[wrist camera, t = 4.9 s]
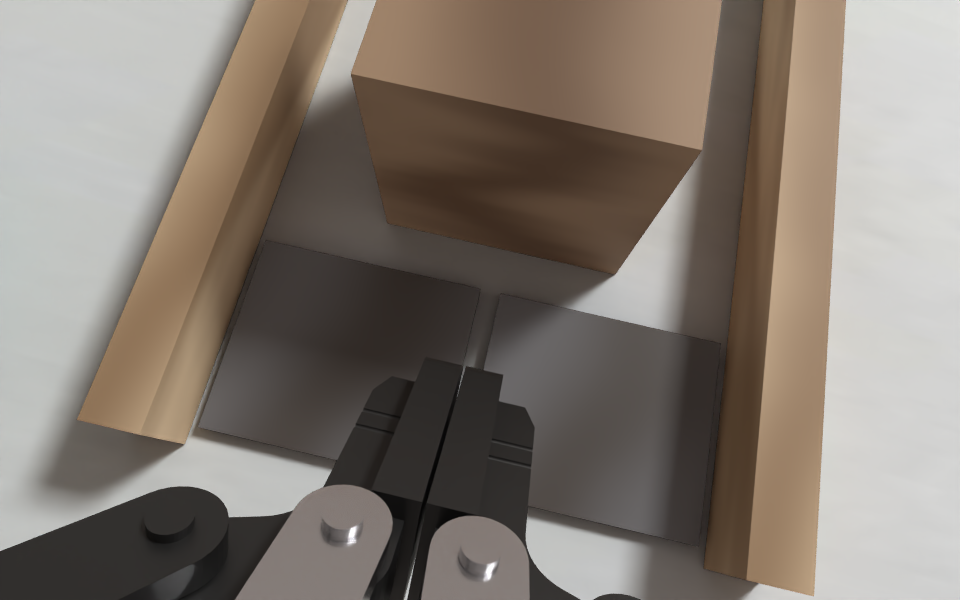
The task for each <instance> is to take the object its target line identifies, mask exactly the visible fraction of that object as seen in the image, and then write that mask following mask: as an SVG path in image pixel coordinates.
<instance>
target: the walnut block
mask: <svg viewBox="0 0 960 600" xmlns="http://www.w3.org/2000/svg"><path fill="white" fill-rule="evenodd" d="M721 4H722V0H377V1H376V3H375V6H374V9H373V12H372V15H371V18H370V20H369V23H368V26H367V29H366V32H365V35H364V38H363V40H362V43H361V46H360V49H359V52H358V55H357V57H356V60H355V63H354V66H353V69H352V72H351V77H352V81H353V85H354V89H355V93H356V97H357V101H358V105H359V109H360V113H361V117H362V122H363V126H364V130H365V134H366V138H367V142H368V146H369V150H370V154H371V158H372V162H373V166H374V170H375V174H376V179H377V183H378V187H379V191H380V195H381V199H382V203H383V207H384V211H385V215H386V219H387V223H389V224H393V225H398V226H402V227H406V228H411V229H415V230H420V231H424V232H429V233H433V234H437V235H442V236H446V237H451V238H455V239H459V240H464V241H468V242H473V243H477V244H482V245H486V246H490V247H495V248H499V249H504V250H508V251H513V252H517V253H521V254H526V255H530V256H535V257H539V258H544V259H548V260H552V261H557V262H561V263H566V264H570V265H574V266H579V267H583V268H588V269H592V270H597V271H601V272H605V273H610V274H614V275H615V274H616V273H617V271H618V270H619V268H620V267H621V266H622V264H623V263H624V261H625V260H626V258H627V257H628V255H629V254H630V253H631V251H632V250H633V248H634V247H635V245H636V244H637V243H638V241H639V240H640V238H641V237H642V235H643V234H644V233H645V231H646V230H647V228H648V227H649V225H650V224H651V223H652V221H653V220H654V218H655V217H656V215H657V214H658V213H659V211H660V210H661V208H662V207H663V205H664V204H665V203H666V201H667V200H668V198H669V197H670V195H671V194H672V193H673V191H674V190H675V188H676V187H677V185H678V184H679V182H680V181H681V180H682V178H683V177H684V175H685V174H686V172H687V171H688V170H689V168H690V167H691V165H692V164H693V162H694V161H695V160H696V158H697V157H698V155H699V154H700V152H701V151H702V147H703V140H704V132H705V125H706V117H707V110H708V102H709V95H710V87H711V79H712V72H713V64H714V57H715V49H716V42H717V34H718V27H719V19H720V12H721Z"/></svg>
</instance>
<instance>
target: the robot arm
mask: <svg viewBox="0 0 960 600" xmlns="http://www.w3.org/2000/svg"><path fill="white" fill-rule="evenodd" d="M462 370H463V365H459V364H455V363H451V362H446V361H442V360H438V359H434V358H429V357H425V359H424V361H423V364H422V366H421V369H420V371H419V374H418V376H417V378H416V381H410V380H406V379H402V378H398V377H394V376H391V377H390V378H388V379H387V380H386V381H384V382H383V383H381V384H380V385H378V386H377V387H376V388H374V389H373V390H372V392H371V394H370V396H369V398H368V400H367V402H366V404H365V406H364V408H363V412H361V414H360V416H359V418H358V420H357V422H356V425H355V427H354V428H353V430H352V432H351V434H350V436H349V438H348V440H347V442H346V444H345V446H344V448H343V450H342V451H341V453H340V455H339V457H338V459H337V461H336V463H335V465H334V467H333V469H332V471H331V473H330V475H329V477H328V479H327V481H326V483H325V485H324V487H323V488H320V489H318V490H316V491H314V492H312V493H310V494H309V495H307V496H306V497H305V498H303V499H302V500H301V501H300V502H299V503H298V505H297V506H296V507H295V509H294V510H293V511H290V512H287V513H284V514H279V515H274V516H261V517H229V516H228V512H227V509H226V507H225V505H224V503H223V502H222V501H221V500H220V499H219V498H218V497H217V496H215V495H214V494H212V493H210V492H208V491H206V490H203V489H200V488H195V487H170V488H165V489H160V490H157V491H154V492H151V493H148V494H146V495H143V496H141V497H138V498H135V499H133V500H130V501H128V502H125V503H123V504H120V505H118V506H115V507H112V508H110V509H107V510H105V511H102V512H100V513H97V514H95V515H92V516H89V517H87V518H84V519H82V520H79V521H77V522H74V523H71V524H69V525H66V526H64V527H61V528H59V529H56V530H54V531H51V532H48V533H46V534H43V535H41V536H38V537H36V538H33V539H31V540H28V541H25V542H23V543H20V544H18V545H15V546H13V547H10V548H7V549H5V550H2V551H0V600H404V597H405V594H406V590H407V587H408V583H409V579H410V576H411V572H412V569H413V565H414V569H413V574H412V579H411V584H410V589H409V594H408V599H407V600H580V599H578V598H577V597H575V596H573V595H571V594H569V593H568V592H566V591H564V590H562V589H561V588H559V587H558V586H556V585H555V584H553V583H552V582H551V581H550V580H548V579H547V578H546V577H545V576H544V575H543V574H542V573H541V572H540V571H539V569H538V568H537V567H536V565H535V564H534V562H533V561H532V559H531V557H530V555H529V552H528V549H527V545H526V536H525V533H526V522H527V510H528V499H529V488H530V477H531V465H532V454H533V452H532V450H533V443H534V431H535V427H534V425H533V423H532V421H531V418H530V416H529V414H528V412H527V410H526V408H525V407H521V406H517V405H513V404H509V403H504V402H500V401H499V397H500V391H501V386H502V381H503V374H498V373H494V372H490V371H486V370H481V369H477V368H473V367H468V366H466V368H465V372H464V375H463V379H462V382H461V386H460V389H459V385H460V380H461V375H462ZM458 390H459V393H458ZM457 394H458V396H457ZM456 399H457V400H456ZM415 558H416V559H415ZM414 562H415V564H414ZM594 600H640V599H638V598H635V597H632V596H628V595H623V594H606V595H602V596H599V597H597V598H595V599H594Z"/></svg>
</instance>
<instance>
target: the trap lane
mask: <svg viewBox="0 0 960 600" xmlns="http://www.w3.org/2000/svg"><path fill="white" fill-rule="evenodd" d="M347 1H348V0H255V2H254V5H253V7H252V9H251V12H250V14H249V17H248V19H247V21H246V24H245V26H244V28H243V31H242V33H241V35H240V38H239V40H238V42H237V45H236V47H235V49H234V52H233V54H232V56H231V59H230V61H229V64H228V66H227V68H226V71H225V73H224V75H223V78H222V80H221V82H220V85H219V87H218V89H217V92H216V94H215V96H214V99H213V101H212V103H211V106H210V108H209V110H208V113H207V115H206V118H205V120H204V122H203V125H202V127H201V129H200V132H199V134H198V136H197V139H196V141H195V143H194V146H193V148H192V150H191V153H190V155H189V157H188V160H187V162H186V164H185V167H184V169H183V172H182V174H181V176H180V179H179V181H178V183H177V186H176V188H175V190H174V193H173V195H172V197H171V200H170V202H169V204H168V207H167V209H166V211H165V214H164V216H163V219H162V221H161V223H160V226H159V228H158V230H157V233H156V235H155V237H154V240H153V242H152V244H151V247H150V249H149V251H148V254H147V256H146V258H145V261H144V263H143V265H142V268H141V270H140V273H139V275H138V277H137V280H136V282H135V284H134V287H133V289H132V291H131V294H130V296H129V298H128V301H127V303H126V305H125V308H124V310H123V312H122V315H121V317H120V319H119V322H118V324H117V327H116V329H115V331H114V334H113V336H112V338H111V341H110V343H109V345H108V348H107V350H106V352H105V355H104V357H103V359H102V362H101V364H100V366H99V369H98V371H97V374H96V376H95V378H94V381H93V383H92V385H91V388H90V390H89V392H88V395H87V397H86V399H85V402H84V404H83V406H82V409H81V411H80V413H79V416H78V418H77V420H80V421H84V422H88V423H93V424H97V425H101V426H105V427H109V428H113V429H118V430H122V431H126V432H130V433H134V434H138V435H143V436H148V437H153V438H157V439H162V440H167V441H172V442H176V443H181V444H185V442H186V439H187V437H188V434H189V431H190V428H191V426H192V423H193V420H194V418H195V415H196V412H197V409H198V407H199V404H200V401H201V398H202V396H203V393H204V390H205V388H206V385H207V382H208V379H209V377H210V374H211V371H212V369H213V366H214V363H215V360H216V358H217V355H218V352H219V350H220V347H221V344H222V341H223V339H224V336H225V333H226V330H227V328H228V325H229V322H230V320H231V317H232V314H233V311H234V309H235V306H236V303H237V301H238V298H239V295H240V292H241V290H242V287H243V284H244V281H245V279H246V276H247V273H248V271H249V268H250V265H251V262H252V260H253V257H254V254H255V252H256V249H257V246H258V243H259V241H260V238H261V235H262V233H263V230H264V227H265V224H266V222H267V219H268V216H269V213H270V211H271V208H272V205H273V203H274V200H275V197H276V194H277V192H278V189H279V186H280V184H281V181H282V178H283V175H284V173H285V170H286V167H287V165H288V162H289V159H290V156H291V154H292V151H293V148H294V145H295V143H296V140H297V137H298V135H299V132H300V129H301V126H302V124H303V121H304V118H305V116H306V113H307V110H308V107H309V105H310V102H311V99H312V96H313V94H314V91H315V88H316V86H317V83H318V80H319V77H320V75H321V72H322V69H323V67H324V64H325V61H326V58H327V56H328V53H329V50H330V48H331V45H332V42H333V39H334V37H335V34H336V31H337V28H338V26H339V23H340V20H341V18H342V15H343V12H344V9H345V7H346V4H347ZM845 7H846V0H764V1H763V11H762V20H761V30H760V39H759V49H758V58H757V68H756V77H755V87H754V96H753V106H752V115H751V124H750V134H749V143H748V153H747V162H746V172H745V181H744V191H743V200H742V210H741V219H740V229H739V238H738V248H737V257H736V267H735V276H734V286H733V295H732V305H731V314H730V323H729V333H728V342H727V352H726V361H725V371H724V380H723V390H722V399H721V409H720V418H719V428H718V437H717V447H716V456H715V466H714V475H713V485H712V494H711V504H710V513H709V523H708V532H707V541H706V551H705V560H704V569H707V570H711V571H714V572H718V573H722V574H726V575H729V576H733V577H737V578H740V579H744V580H748V581H752V582H756V583H760V584H765V585H769V586H773V587H777V588H781V589H785V590H790V591H794V592H798V593H802V594H806V595H810V596H814V585H815V567H816V548H817V529H818V511H819V492H820V473H821V455H822V436H823V418H824V399H825V380H826V362H827V343H828V324H829V306H830V287H831V268H832V250H833V231H834V213H835V194H836V175H837V157H838V138H839V119H840V101H841V82H842V63H843V45H844V26H845ZM479 294H480V289H479V288H474V287H470V286H466V285H461V284H457V283H452V282H448V281H444V280H439V279H435V278H430V277H426V276H422V275H417V274H413V273H408V272H404V271H400V270H395V269H391V268H386V267H382V266H378V265H373V264H369V263H364V262H360V261H356V260H351V259H347V258H342V257H338V256H334V255H329V254H325V253H320V252H316V251H312V250H307V249H303V248H298V247H294V246H290V245H285V244H281V243H276V242H272V241H268V240H266V241H265V244H264V247H263V249H262V252H261V255H260V258H259V260H258V263H257V266H256V269H255V271H254V274H253V277H252V280H251V282H250V285H249V288H248V291H247V293H246V296H245V299H244V302H243V304H242V307H241V310H240V313H239V315H238V318H237V321H236V324H235V326H234V329H233V332H232V335H231V337H230V340H229V343H228V346H227V348H226V351H225V354H224V357H223V359H222V362H221V365H220V368H219V370H218V373H217V376H216V378H215V381H214V384H213V387H212V389H211V392H210V395H209V398H208V400H207V403H206V406H205V409H204V411H203V414H202V417H201V420H200V422H199V425H198V427H200V428H203V429H207V430H212V431H216V432H220V433H224V434H228V435H233V436H237V437H241V438H245V439H249V440H254V441H258V442H262V443H266V444H270V445H275V446H279V447H283V448H287V449H291V450H296V451H300V452H304V453H308V454H312V455H316V456H321V457H325V458H329V459H333V460H337V459H338V457H339V455H340V453H341V451H342V450H343V448H344V446H345V444H346V442H347V440H348V438H349V436H350V434H351V432H352V430H353V428H354V427H355V425H356V422H357V420H358V418H359V416H360V414H361V412H363V408H364V406H365V404H366V402H367V400H368V398H369V396H370V394H371V392H372V390H373V389H374V388H376V387H377V386H378V385H380V384H381V383H383V382H384V381H386V380H387V379H388V378H390V377H391V376H394V377H398V378H402V379H406V380H410V381H416V378H417V376H418V374H419V371H420V369H421V366H422V364H423V361H424V359H425V357H429V358H434V359H438V360H442V361H446V362H451V363H455V364H459V365H463V361H464V357H465V352H466V348H467V344H468V340H469V336H470V332H471V327H472V323H473V319H474V315H475V311H476V307H477V302H478V298H479ZM720 346H721V343H716V342H712V341H708V340H703V339H699V338H694V337H690V336H686V335H681V334H677V333H672V332H668V331H664V330H659V329H655V328H650V327H646V326H642V325H637V324H633V323H628V322H624V321H620V320H615V319H611V318H606V317H602V316H598V315H593V314H589V313H584V312H580V311H576V310H571V309H567V308H562V307H558V306H554V305H549V304H545V303H540V302H536V301H532V300H527V299H523V298H518V297H514V296H510V295H505V294H500V299H499V303H498V308H497V312H496V316H495V321H494V325H493V329H492V334H491V338H490V343H489V347H488V351H487V356H486V360H485V364H484V369H483V370H486V371H490V372H494V373H498V374H503V381H502V386H501V391H500V397H499V401H500V402H504V403H509V404H513V405H517V406H521V407H525V408H526V410H527V412H528V414H529V416H530V418H531V421H532V423H533V425H534V427H535V431H534V443H533V450H532V452H533V454H532V465H531V477H530V488H529V499H528V506H530V507H535V508H539V509H543V510H547V511H551V512H556V513H560V514H564V515H568V516H572V517H577V518H581V519H585V520H589V521H593V522H598V523H602V524H606V525H610V526H614V527H618V528H623V529H627V530H631V531H635V532H639V533H644V534H648V535H652V536H656V537H660V538H665V539H669V540H673V541H677V542H681V543H686V544H690V545H694V546H699V539H700V530H701V521H702V512H703V502H704V493H705V484H706V475H707V466H708V456H709V447H710V438H711V429H712V420H713V411H714V401H715V392H716V383H717V374H718V365H719V355H720Z"/></svg>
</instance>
